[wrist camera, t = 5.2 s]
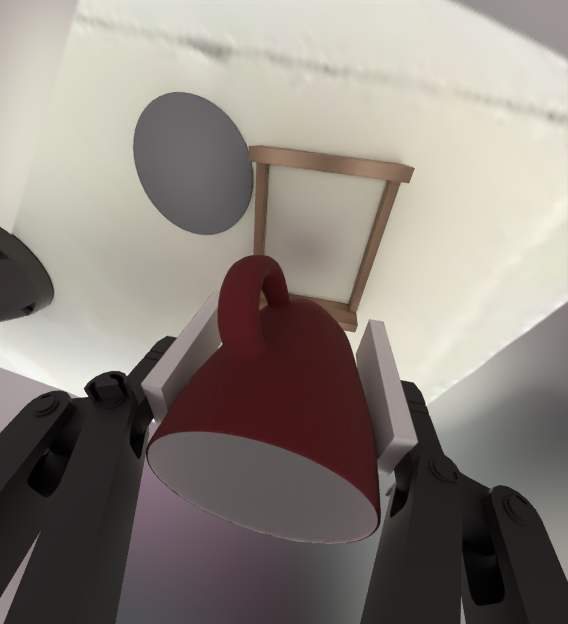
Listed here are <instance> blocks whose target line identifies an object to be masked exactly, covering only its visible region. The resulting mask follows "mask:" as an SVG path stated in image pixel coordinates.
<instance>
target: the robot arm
mask: <svg viewBox="0 0 568 624" xmlns="http://www.w3.org/2000/svg"><path fill="white" fill-rule="evenodd" d="M219 295H220V293H218V292H213V293H212V294H211V296H210V297H209V298H208V300H207V301H206V302H205V303H204V305H203V306H202V307H201V308H200V310H199V311H198V312H197V313H196V315H195V316H194V317H193V319H192V320H191V321H190V322H189V324H188V325H187V326H186V327H185V329H184V330H183V331H182V332H181V334H180V335H179V336H178V338H176V337H170V336H166V337H165V338H163V339H161V340H160V341H158V342H157V343H156V344H155V345H154V346H153V347H152V348H151V350H150V352H148V353H147V354H146V355H145V356H144V359H142V360H141V361H140V362H139V363H138V364H137V366H136V367H135V368H134V369H133V370H132V371H131V373H130V374H129V375H128V376H126V375H125V373H122V372H120V371H110V372H106V373H103V374H100V375H98V376H96V377H95V378H93V379H92V380H91V381H89V382H88V383H87V385H86V386H85V388H84V390H85V392H86V393H87V395H88V397H84V398H73V399H72V398H71V397H70V396H69V395H68V393H67V392H64V391H51V392H48V393H45V394H42V395H40V396H39V397H37V398H35V399H33V400H32V401H31V402H30V403H28V404H27V405H26V406H25V407H24V408H23V409H22V410H21V411H20V413H19V414H18V415H17V416H16V417H15V418H14V419H13V420H12V421H11V422H10V423H9V424H8V425H7V426H6V427H5V428H4V430H3V431H2V432H1V433H0V597H1V596H2V594H3V592H4V591H5V589H6V587H7V586H8V584H9V582H10V581H11V579H12V577H13V576H14V574H15V572H16V571H17V569H18V568H19V566H20V564H21V562H22V561H23V559H24V558H25V556H26V554H27V553H28V551H29V549H30V548H31V546H32V544H33V543H34V540H35V539H36V538H37V536H38V534H39V533H40V534H39V537H38V539H37V542H36V544H35V547H34V549H33V552H32V554H31V557H30V559H29V562H28V564H27V567H26V569H25V572H24V574H23V576H22V579H21V581H20V584H19V586H18V589H17V591H16V594H15V596H14V599H13V601H12V604H11V607H10V609H9V611H8V614H7V617H6V619H5V621H4V624H115V623H116V617H117V611H118V606H119V600H120V594H121V589H122V583H123V577H124V572H125V566H126V561H127V555H128V550H129V544H130V538H131V533H132V527H133V521H134V516H135V510H136V504H137V499H138V493H139V488H140V482H141V476H142V471H143V465H144V460H145V454H146V448H147V443H148V437H149V427H148V426H149V424H150V423H151V421H152V420H153V418H154V420H155V422H156V425H160V424H161V422H162V421H163V419H164V417H165V416H166V414H167V413H168V411H169V410H170V408H171V407H172V405H173V403H174V402H175V400H176V399H177V397H178V396H179V394H180V393H181V391H182V390H183V389H184V387H185V386H186V384H187V383H188V382H189V380H190V379H191V378H192V376H193V375H194V374H195V373H196V372H197V371H198V369H199V368H200V367H201V366H202V365H203V364H204V363H205V362H206V361H207V360H208V359H209V358H210V357H211V356H212V355H213V354H214V353H215V352H216V351H217V349H218V347H219V346H220V344H221V342H222V341H221V338H220V334H219V330H218V322H217V309H218V300H219ZM52 298H53V290H52V285H51V282H50V280H49V277H48V275H47V274H46V272H45V270H44V269H43V267H42V266H41V264H40V263H39V261H38V260H37V259H36V258H35V257H34V255H33V254H32V253H31V252H30V251H29V250H28V249H27V248H26V247H25V246H24V245H23V244H22V243H21V242H20V241H18V240H17V239H16V238H15V237H14V236H12V235H11V234H10V233H8V232H7V231H6V230H4V229H2V228H1V227H0V322H4V321H8V320H12V319H16V318H20V317H24V316H28V315H31V314H34V313H35V312H37V311H39V310H41V309H43V308H44V307H46V306H48V305H49V304H50V302H51V301H52ZM356 361H357V369H358V373H359V376H360V380H361V384H362V387H363V391H364V394H365V398H366V401H367V405H368V409H369V412H370V416H371V421H372V426H373V431H374V437H375V444H376V453H377V465H378V474H381V475H386V476H389V475H390V474H391V473H392V471H393V470H394V473H395V478H396V482H395V483H394V484H393V485H392V486H391V487H390V488H389V489H388V491H387V493H386V494H385V495H386V496H389V495H390V494H391V495H390V499H389V503H388V508H387V512H386V516H385V520H384V525H383V529H382V534H381V537H380V542H379V546H378V550H377V554H376V559H375V563H374V567H373V571H372V576H371V580H370V584H369V588H368V593H367V597H366V601H365V605H364V610H363V614H362V618H361V623H360V624H460V618H461V615H460V614H461V597H462V603H463V609H464V615H465V621H466V624H568V581H567V579H566V577H565V574H564V572H563V570H562V567H561V565H560V562H559V560H558V557H557V555H556V553H555V550H554V548H553V546H552V543H551V541H550V539H549V536H548V534H547V531H546V529H545V527H544V525H543V522H542V520H541V518H540V516H539V514H538V513H537V511H536V509H535V508H534V507H533V506H532V505H531V503H529V501H528V500H527V499H526V498H525V497H523V496H522V495H521V494H520V493H519V492H517V491H515V490H513V489H511V488H509V487H507V486H502V485H499V486H496V487H493V488H492V489H490V488H488V487H486V486H484V485H482V484H480V483H478V482H476V481H474V480H472V479H471V478H469V477H467V476H465V475H464V474H462V473H461V472H460V471H459V470H458V468H457V466H456V465H455V464H454V463H453V462H452V460H451V459H450V458H448V457H447V456H445V455H444V453H443V451H442V448H441V445H440V443H439V440H438V437H437V434H436V432H435V429H434V426H433V423H432V421H431V418H430V416H429V412H428V409H427V406H425V405H426V404H425V401H424V398H423V395H422V393H421V391H420V390H419V389H418V388H417V386H416V385H415V384H414V383H413V382H407V381H402V380H400V378H399V374H398V371H397V367H396V364H395V360H394V357H393V353H392V350H391V346H390V343H389V339H388V336H387V332H386V329H385V325H384V322H382V321H376V320H370V319H369V322H368V324H367V327H366V330H365V332H364V335H363V337H362V340H361V342H360V345H359V347H358V350H357V353H356ZM40 531H41V532H40Z"/></svg>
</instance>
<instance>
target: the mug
mask: <svg viewBox="0 0 568 624" xmlns="http://www.w3.org/2000/svg"><path fill="white" fill-rule="evenodd" d="M261 290H262V292H263V294H264V296H265V298H266V301H267V304H268V305H266V306H265V307H263V308H261V309H260V310H259V305H260V294H261ZM217 322H218V330H219V334H220V338H221V341H222V345H221V347H220V348H219V349H218V350H217V351H216V352H215V353H214V354H213V355H212V356H211V357H210V358H209V359H208V360H207V361H206V362H205V363H204V364H203V365H202V366H201V367H200V368H199V369H198V371H197V372H196V373H195V374H194V375H193V376H192V378H191V379H190V380H189V382H188V383H187V384H186V386H185V387H184V389H183V390H182V391H181V393H180V394H179V396H178V397H177V399H176V400H175V402H174V403H173V405H172V407H171V408H170V410H169V411H168V413H167V414H166V416H165V417H164V419H163V421H162V422H161V424H160V425H159V427H158V429H157V430H156V432H155V433H154V435H153V436H152V438H151V440H150V442H149V443H148V446H147V448H146V458H147V461H148V464H149V466H150V468H151V469H152V471H153V472H154V474H155V475H156V476H157V477H158V478H159V479H160V480H161V481H162V482H163V483H164V484H165V485H166V486H167V487H168V488H169V489H171V490H172V491H173V492H175V493H176V494H177V495H179V496H180V497H182V498H183V499H185V500H187V501H188V502H190V503H191V504H193V505H195V506H197V507H198V508H200V509H202V510H204V511H206V512H208V513H210V514H212V515H214V516H216V517H219V518H221V519H223V520H226V521H228V522H231V523H233V524H236V525H238V526H241V527H244V528H247V529H250V530H253V531H256V532H260V533H263V534H266V535H270V536H274V537H279V538H283V539H288V540H293V541H299V542H307V543H316V544H344V543H351V542H356V541H360V540H363V539H365V538H367V537H369V536H371V535H372V534H373V533H374V532H375V531H376V530H377V529H378V527H379V525H380V519H381V508H380V493H379V478H378V465H377V453H376V444H375V437H374V431H373V426H372V421H371V416H370V412H369V409H368V405H367V401H366V398H365V394H364V391H363V387H362V384H361V380H360V376H359V373H358V369H357V366H356V362H355V359H354V355H353V352H352V348H351V345H350V343H349V340H348V338H347V336H346V334H345V332H344V330H343V329H342V327H341V326H340V325H339V323H338V322H337V321H336V320H335V319H334V318H333V317H332V316H331V315H330V314H329V313H328V312H327V311H326V310H325V309H324V308H323V307H321V306H320V305H319V304H317V303H315V302H313V301H311V300H307V299H302V298H292V299H290V298H289V294H288V290H287V285H286V281H285V277H284V274H283V271H282V269H281V267H280V266H279V264H278V263H277V262H276V261H275V260H274V259H272V258H271V257H268V256H264V255H252V256H248V257H244V258H242V259H241V260H239V261H237V262H236V263H234V264H233V266H232V267H231V268H230V269H229V271H228V273H227V274H226V276H225V278H224V281H223V284H222V287H221V290H220V295H219V300H218V309H217Z"/></svg>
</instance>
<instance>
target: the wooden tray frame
mask: <svg viewBox="0 0 568 624" xmlns="http://www.w3.org/2000/svg"><path fill="white" fill-rule="evenodd" d="M249 161H251V162H257V169H256V200H255V231H254V255H264V243H265V226H266V208H267V191H268V174H269V164H273V165H280V166H288V167H295V168H302V169H310V170H317V171H324V172H331V173H339V174H346V175H353V176H361V177H368V178H375V179H382V180H388V181H387V184H386V187H385V190H384V194H383V197H382V200H381V203H380V206H379V210H378V213H377V216H376V219H375V222H374V225H373V229H372V232H371V235H370V238H369V241H368V245H367V248H366V251H365V254H364V257H363V261H362V264H361V267H360V270H359V273H358V276H357V280H356V283H355V286H354V289H353V292H352V296H351V299H350V302H349V305H348V304H343V303H337V302H331V301H326V300H320V299H315V298H309V297H304V296H298V295H292V294H289V298H290V299H292V298H302V299H307V300H311V301H313V302H315V303H317V304H319V305H320V306H321V307H323V308H324V309H325V310H326V311H327V312H328V313H329V314H330V315H331V316H332V317H333V318H334V319H335V320H336V321H337V322H338V323H339V325H340V326H341V327H342V329H343V330H345V331H350V332H356V329H357V326H358V324H357V316H356V311H357V308H358V306H359V303H360V300H361V297H362V294H363V291H364V288H365V285H366V282H367V279H368V276H369V273H370V271H371V268H372V265H373V262H374V259H375V256H376V253H377V250H378V247H379V244H380V241H381V239H382V236H383V233H384V230H385V227H386V224H387V221H388V218H389V215H390V212H391V209H392V206H393V204H394V201H395V198H396V195H397V192H398V189H399V186H400V183H401V182H404V183H409V182H410V180H411V177H412V174H413V171H414V169H415V168H413V167H410V166H407V165H403V164H397V163H390V162H382V161H374V160H367V159H359V158H352V157H344V156H336V155H329V154H321V153H314V152H306V151H298V150H291V149H283V148H276V147H268V146H249ZM266 305H268V304H267V301H266V298H265V296H264V294H263V292H262V290H261V294H260V305H259V310H260V309H261V308H263V307H265V306H266Z"/></svg>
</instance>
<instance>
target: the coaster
mask: <svg viewBox="0 0 568 624" xmlns="http://www.w3.org/2000/svg"><path fill="white" fill-rule="evenodd" d="M133 150H134V160H135V166H136V169H137V173H138V176H139V179H140V182H141V184H142V186H143V188H144V190H145V192H146V194H147V195H148V197H149V199H150V200H151V202H152V203H153V204H154V206H155V207H156V208H157V209H158V210H159V212H160V213H161V214H162V215H163V216H164V217H166V218H167V219H168V220H169V221H170V222H172V223H173V224H175V225H176V226H178V227H180V228H182V229H184V230H186V231H189V232H191V233H195V234H201V235H212V234H217V233H220V232H223V231H225V230H227V229H229V228H230V227H232V226H233V225H234V224H235V223H237V221H238V220H239V219H240V218H241V217H242V216H243V214H244V213H245V211H246V209H247V207H248V205H249V202H250V199H251V194H252V188H253V170H252V163H251V161H249V152H248V149H247V146H246V144H245V141H244V139H243V137H242V135H241V134H240V132H239V130H238V129H237V127H236V126H235V124H234V123H233V122H232V121H231V119H230V118H229V117H228V116H227V115H226V114H225V113H224V112H223V111H222V110H221V109H220V108H218V107H217V106H216V105H215V104H213V103H211V102H210V101H208V100H206V99H204V98H202V97H199V96H196V95H193V94H189V93H184V92H173V93H167V94H165V95H162V96H159V97H158V98H156V99H155V100H153V101H152V102H151V103H150V104H149V105H148V106H147V107H146V108H145V109H144V111H143V112H142V114H141V116H140V118H139V120H138V122H137V126H136V129H135V134H134V144H133Z"/></svg>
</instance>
